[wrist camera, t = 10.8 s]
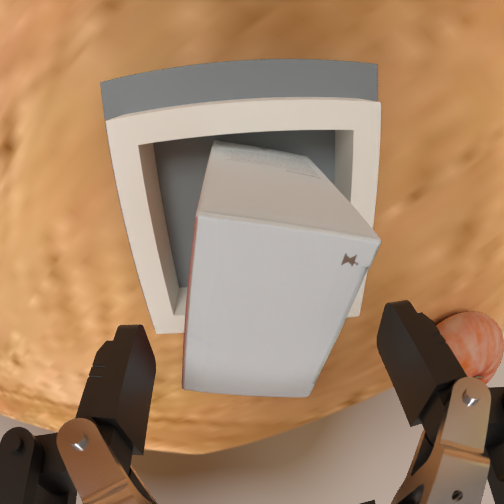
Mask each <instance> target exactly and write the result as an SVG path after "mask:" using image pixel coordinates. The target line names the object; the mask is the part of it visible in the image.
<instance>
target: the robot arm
mask: <svg viewBox="0 0 504 504" xmlns="http://www.w3.org/2000/svg"><path fill="white" fill-rule="evenodd" d="M377 348H378V351H379V354H380V356H381V358H382V360H383V363H384V365H385V367H386V369H387V372H388V374H389V376H390V379H391V381H392V383H393V386H394V388H395V390H396V393H397V395H398V397H399V400H400V402H401V404H402V407H403V409H404V412H405V414H406V417H407V419H408V422H409V424H410V427H412V426H415V425H418V424H421V423H422V425H423V427H424V431H423V432H422V434H421V437H420V440H419V443H418V446H417V449H416V452H415V455H414V458H413V460H412V463H411V466H410V468H409V471H408V473H407V476H406V478H405V480H404V482H403V484H402V485H401V487H400V489H399V490H398V491H397V493H396V495H395V497H394V498H393V500H392V503H391V504H481V500H482V496H483V493H484V489H485V485H486V480H487V479H488V482H489V485H490V488H491V491H492V495H493V498H494V501H495V504H504V387H495V388H488V387H487V386H486V384H485V383H484V382H482V381H481V380H479V379H477V378H474V377H468V376H467V375H466V373H465V371H464V370H463V368H462V366H461V365H460V363H459V361H458V360H457V358H456V356H455V355H454V353H453V352H452V350H451V348H450V347H449V345H448V344H447V343H446V340H445V339H444V337H443V336H442V334H441V335H440V331H439V330H438V328H437V327H436V325H435V323H434V322H433V321H432V320H431V319H429V318H428V317H427V316H426V315H424V314H423V313H417V312H416V310H415V309H414V307H413V306H412V304H411V303H410V302H409V301H408V300H404V301H398V302H391V303H387V304H386V305H385V307H384V311H383V315H382V319H381V323H380V327H379V330H378V334H377ZM155 374H156V362H155V357H154V354H153V351H152V348H151V346H150V343H149V341H148V338H147V335H146V332H145V330H144V327H143V326H142V325H120V326H119V327H118V328H117V331H116V334H115V337H114V340H113V341H106V342H105V343H104V344H103V345H102V347H101V348H100V349H99V350H98V351H97V353H96V356H95V359H94V362H93V367H92V368H91V370H90V373H89V378H88V379H87V382H86V386H85V389H84V392H83V395H82V398H81V401H80V405H79V408H78V411H77V414H76V417H75V419H72V420H69V421H68V422H66V423H65V424H64V425H63V426H62V427H61V428H60V430H59V432H57V433H53V434H46V435H39V436H33V435H32V434H31V433H30V432H29V431H28V430H27V429H25V428H22V427H15V428H12V429H10V430H9V431H7V432H6V433H5V434H4V436H3V438H2V440H1V442H0V504H76V496H77V492H78V494H79V495H80V498H81V499H82V502H83V504H157V502H156V501H155V499H154V498H153V496H152V495H151V494H150V492H149V491H148V490H147V488H146V487H145V485H144V484H143V482H142V481H141V479H140V478H139V476H138V475H137V473H136V472H135V470H134V469H133V467H132V466H131V458H132V455H143V453H144V445H145V438H146V431H147V424H148V417H149V410H150V404H151V398H152V391H153V385H154V380H155ZM361 504H375V500H372V501H368V502H365V503H361Z"/></svg>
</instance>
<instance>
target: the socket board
mask: <svg viewBox="0 0 504 504" xmlns="http://www.w3.org/2000/svg"><path fill="white" fill-rule="evenodd" d="M100 84H101V93H102V102H103V109H104V117H105V124H106V131H107V137H108V143H109V149H110V155H111V161H112V166H113V172H114V177H115V182H116V187H117V192H118V197H119V201H120V206H121V210H122V215H123V219H124V223H125V228H126V232H127V236H128V240H129V244H130V248H131V252H132V255H133V259H134V263H135V266H136V270H137V274H138V277H139V281H140V284H141V288H142V291H143V294H144V298H145V301H146V304H147V307H148V311H149V314H150V317H151V320H152V323H153V326H154V329H155V331H156V334H166V333H184V325H185V310H186V297H187V286H188V277H189V268H190V259H191V250H192V241H193V232H194V223H195V215H196V211H197V207H198V203H199V199H200V194H201V190H202V186H203V181H204V177H205V173H206V168H207V164H208V160H209V156H210V152H211V148H212V144H213V141H215V140H218V141H224V142H231V143H238V144H244V145H250V146H256V147H262V148H267V149H273V150H278V151H283V152H288V153H293V154H298V155H303V156H307V157H308V158H309V159H310V160H311V161H312V162H313V163H314V164H315V165H316V166H317V167H318V168H319V169H320V170H321V171H322V173H323V174H324V175H325V176H326V177H327V178H328V179H329V180H330V181H331V182H332V183H333V184H334V186H335V187H336V188H337V189H338V190H339V191H340V192H341V193H342V194H343V195H344V197H345V198H346V199H347V200H348V201H349V202H350V203H351V204H352V205H353V207H354V208H355V209H356V210H357V211H358V212H359V213H360V215H361V216H362V217H363V218H364V219H365V220H366V222H367V223H368V224H369V225H370V226H371V228H372V229H373V223H374V214H375V204H376V194H377V182H378V168H379V151H380V128H381V102H378V64H372V63H362V62H351V61H337V60H317V59H260V60H240V61H226V62H215V63H205V64H197V65H189V66H181V67H174V68H168V69H162V70H156V71H150V72H145V73H140V74H135V75H130V76H125V77H121V78H116V79H112V80H108V81H104V82H100ZM366 275H367V274H366ZM365 281H366V276H365V278H364V281H363V283H362V285H361V287H360V289H359V292H358V294H357V296H356V298H355V301H354V303H353V305H352V307H351V309H350V312H349V314H348V316H347V318H348V317H355V316H359V315H360V310H361V304H362V299H363V293H364V287H365Z"/></svg>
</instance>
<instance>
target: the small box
mask: <svg viewBox="0 0 504 504" xmlns="http://www.w3.org/2000/svg"><path fill="white" fill-rule="evenodd" d="M380 244H381V239H380V238H379V236H378V235H377V233H376V232H375V231H374V230H373V229H372V228H371V226H370V225H369V224H368V223H367V222H366V220H365V219H364V218H363V217H362V216H361V215H360V213H359V212H358V211H357V210H356V209H355V208H354V207H353V205H352V204H351V203H350V202H349V201H348V200H347V199H346V198H345V197H344V195H343V194H342V193H341V192H340V191H339V190H338V189H337V188H336V187H335V186H334V184H333V183H332V182H331V181H330V180H329V179H328V178H327V177H326V176H325V175H324V174H323V173H322V171H321V170H320V169H319V168H318V167H317V166H316V165H315V164H314V163H313V162H312V161H311V160H310V159H309V158H308V157H307V156H303V155H298V154H293V153H288V152H283V151H278V150H273V149H267V148H262V147H256V146H250V145H244V144H238V143H231V142H224V141H218V140H215V141H213V144H212V148H211V152H210V156H209V160H208V164H207V168H206V173H205V177H204V181H203V186H202V190H201V194H200V199H199V203H198V207H197V211H196V215H195V223H194V232H193V241H192V250H191V259H190V268H189V277H188V286H187V297H186V310H185V325H184V344H183V368H182V388H183V389H184V390H191V391H198V392H207V393H217V394H230V395H244V396H264V397H308V396H309V395H310V394H311V392H312V389H313V387H314V385H315V383H316V380H317V378H318V376H319V374H320V372H321V370H322V368H323V366H324V364H325V362H326V360H327V358H328V356H329V354H330V352H331V349H332V347H333V345H334V344H335V341H336V339H337V337H338V335H339V333H340V331H341V329H342V327H343V324H344V322H345V320H346V318H347V316H348V314H349V312H350V309H351V307H352V305H353V303H354V301H355V298H356V296H357V294H358V292H359V289H360V287H361V285H362V283H363V281H364V278H365V276H366V274H367V272H368V270H369V268H370V266H371V264H372V262H373V260H374V258H375V255H376V253H377V251H378V249H379V247H380Z"/></svg>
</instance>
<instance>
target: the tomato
mask: <svg viewBox="0 0 504 504" xmlns="http://www.w3.org/2000/svg"><path fill="white" fill-rule="evenodd" d="M436 327H437V328H438V330H439V331H440V335H441V334H442V336H443V337H444V339H445V340H446V343H447V344H448V345H449V347H450V348H451V350H452V352H453V353H454V355H455V356H456V358H457V360H458V361H459V363H460V365H461V366H462V368H463V370H464V371H465V373H466V375H467V376H468V377H474V378H477V379H479V380H481V381H482V382H484V383H485V384H487V383H488V382H489V380H490V379H491V378H492V377H493V376H494V374H495V372H496V370H497V368H498V367H499V365H500V363H501V360H502V356H503V352H504V340H503V334H502V331H501V329H500V327H499V326H498V324H497V323H496V322H495V321H494V320H493V319H492V318H490V317H489V316H487V315H485V314H483V313H480V312H475V311H471V312H462V313H458V314H455V315H453V316H450V317H448V318H446V319H445V320H443V321H442V322H440V323H439V324H437V325H436Z"/></svg>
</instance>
